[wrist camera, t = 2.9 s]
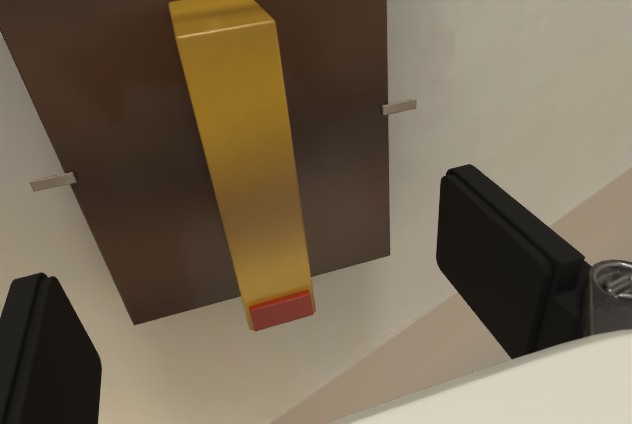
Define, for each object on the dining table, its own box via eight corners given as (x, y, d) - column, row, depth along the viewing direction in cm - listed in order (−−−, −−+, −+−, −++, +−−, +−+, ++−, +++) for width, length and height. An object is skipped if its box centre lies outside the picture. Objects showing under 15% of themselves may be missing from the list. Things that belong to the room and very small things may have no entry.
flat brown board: (-55, -73, 15) (-97, -66, 12) (381, -126, 17) (421, -129, 15) (111, 287, 23) (107, 336, 21) (386, 216, 26) (413, 251, 23)
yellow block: (167, 1, 15) (175, 39, 11) (244, -11, 15) (278, 21, 11) (231, 254, 20) (251, 337, 17) (286, 240, 21) (318, 317, 17)
